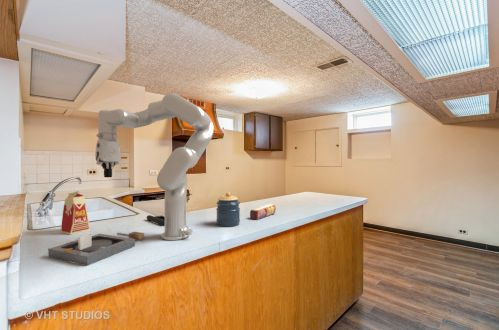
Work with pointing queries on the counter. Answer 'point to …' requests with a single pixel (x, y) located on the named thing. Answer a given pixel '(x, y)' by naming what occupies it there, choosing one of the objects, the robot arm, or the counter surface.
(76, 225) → the milk carton
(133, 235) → the screwdriver
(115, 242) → the tray
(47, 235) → the counter surface
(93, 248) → the dial
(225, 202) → the canister
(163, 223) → the door handle
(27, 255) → the counter surface
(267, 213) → the snack package
